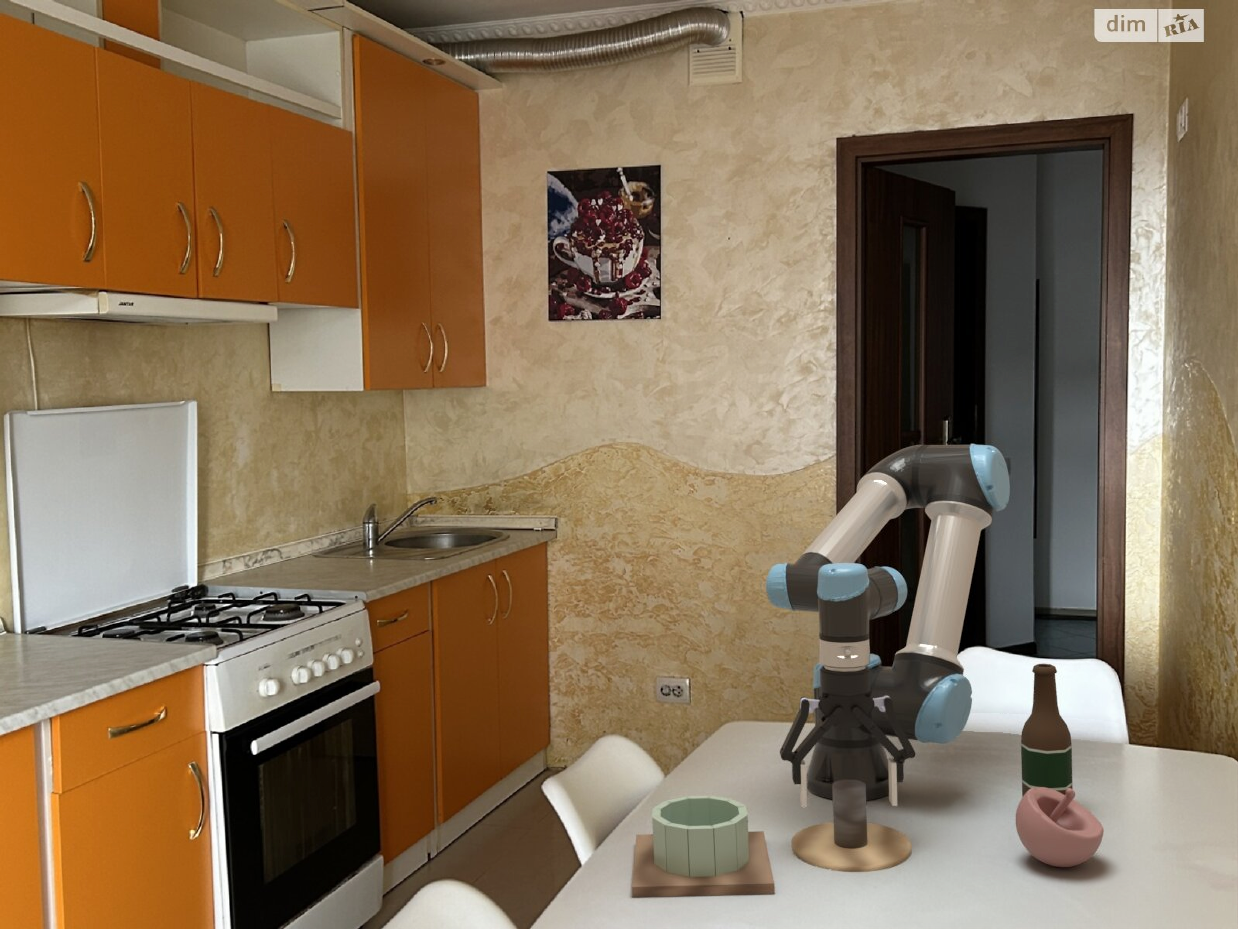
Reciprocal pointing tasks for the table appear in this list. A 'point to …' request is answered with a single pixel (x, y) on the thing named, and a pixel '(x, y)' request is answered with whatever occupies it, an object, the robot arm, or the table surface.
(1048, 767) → the beer bottle
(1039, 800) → the mortar and pestle
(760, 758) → the table surface
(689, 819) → the bowl
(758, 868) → the serving board
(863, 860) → the lid
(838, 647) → the robot arm
